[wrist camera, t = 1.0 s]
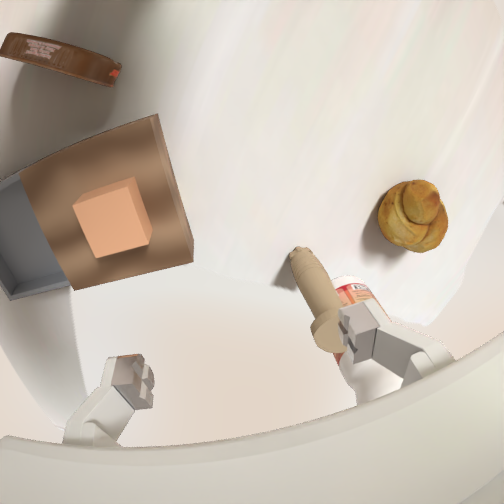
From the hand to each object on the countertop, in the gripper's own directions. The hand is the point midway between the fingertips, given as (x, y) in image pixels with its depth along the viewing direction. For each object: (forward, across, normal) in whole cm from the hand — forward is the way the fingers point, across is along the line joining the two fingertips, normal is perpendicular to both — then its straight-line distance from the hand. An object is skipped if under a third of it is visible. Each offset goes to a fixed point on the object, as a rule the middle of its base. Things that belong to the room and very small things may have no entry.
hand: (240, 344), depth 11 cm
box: (+25, +28, -1) cm, 37 cm away
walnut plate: (+25, +12, -1) cm, 28 cm away
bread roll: (+26, -26, +10) cm, 38 cm away
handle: (+26, -8, +13) cm, 30 cm away
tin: (+24, +12, -19) cm, 33 cm away
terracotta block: (+20, +10, -1) cm, 23 cm away
